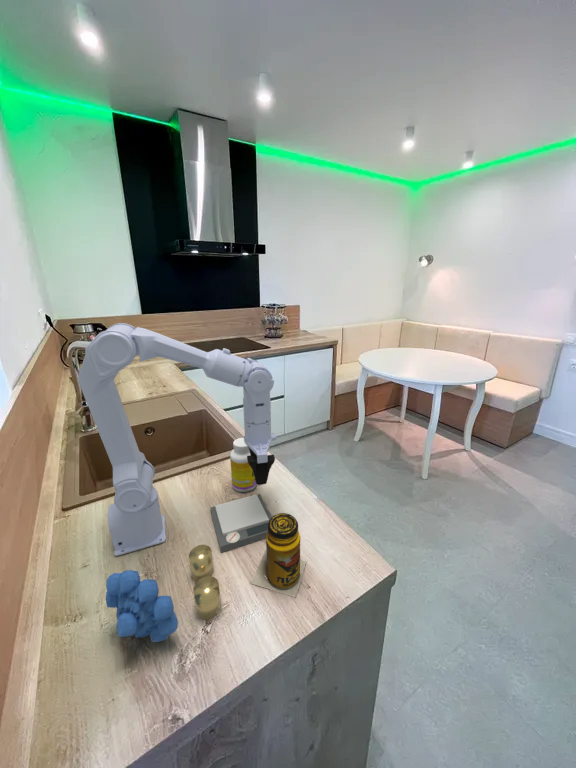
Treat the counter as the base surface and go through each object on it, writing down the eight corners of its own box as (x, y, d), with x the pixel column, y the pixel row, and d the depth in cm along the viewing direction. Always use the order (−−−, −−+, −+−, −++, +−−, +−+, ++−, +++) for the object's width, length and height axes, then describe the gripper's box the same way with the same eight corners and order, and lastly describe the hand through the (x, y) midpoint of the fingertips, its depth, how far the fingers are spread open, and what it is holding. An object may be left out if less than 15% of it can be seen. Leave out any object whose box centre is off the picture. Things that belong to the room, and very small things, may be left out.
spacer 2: (197, 624, 49) (194, 603, 47) (194, 601, 52) (192, 581, 51) (223, 614, 50) (221, 593, 49) (218, 592, 54) (216, 572, 52)
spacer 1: (192, 586, 55) (190, 566, 53) (190, 567, 58) (187, 548, 57) (215, 578, 56) (213, 558, 55) (211, 560, 60) (209, 541, 58)
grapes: (92, 652, 45) (74, 593, 41) (127, 607, 51) (113, 551, 47) (161, 678, 42) (148, 616, 38) (189, 627, 48) (180, 569, 44)
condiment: (295, 597, 53) (296, 543, 49) (250, 584, 55) (247, 530, 51) (306, 562, 59) (307, 511, 55) (265, 551, 62) (263, 502, 58)
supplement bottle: (255, 493, 78) (253, 449, 74) (229, 493, 78) (226, 448, 74) (258, 477, 85) (257, 435, 80) (234, 477, 85) (231, 435, 81)
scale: (221, 553, 61) (220, 544, 60) (211, 513, 72) (210, 505, 71) (277, 534, 66) (277, 526, 65) (260, 499, 76) (259, 491, 75)
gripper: (282, 432, 60) (282, 491, 64) (270, 404, 73) (271, 454, 77) (245, 436, 58) (248, 495, 63) (240, 406, 72) (243, 457, 76)
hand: (259, 473), depth 70 cm, fingers open, 7 cm apart
